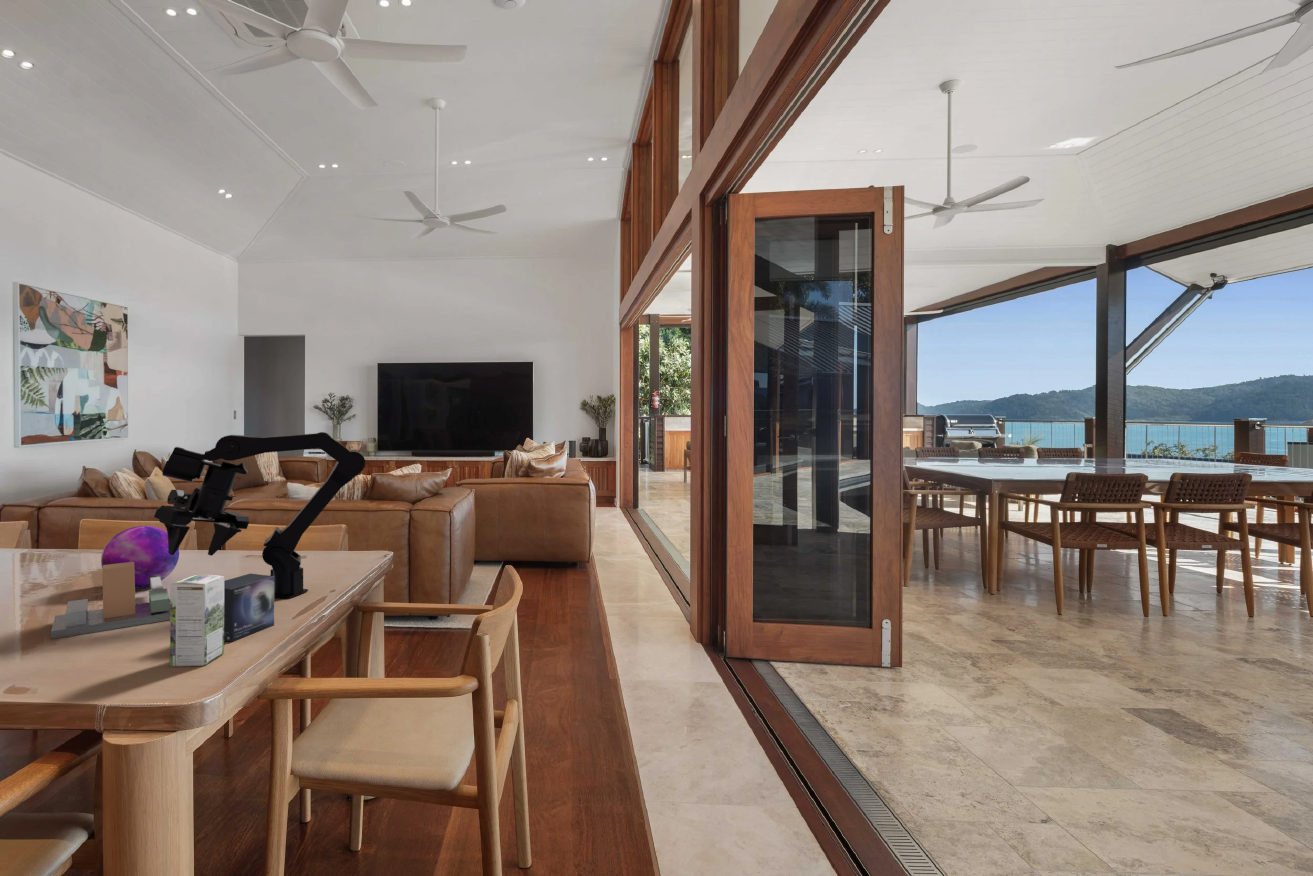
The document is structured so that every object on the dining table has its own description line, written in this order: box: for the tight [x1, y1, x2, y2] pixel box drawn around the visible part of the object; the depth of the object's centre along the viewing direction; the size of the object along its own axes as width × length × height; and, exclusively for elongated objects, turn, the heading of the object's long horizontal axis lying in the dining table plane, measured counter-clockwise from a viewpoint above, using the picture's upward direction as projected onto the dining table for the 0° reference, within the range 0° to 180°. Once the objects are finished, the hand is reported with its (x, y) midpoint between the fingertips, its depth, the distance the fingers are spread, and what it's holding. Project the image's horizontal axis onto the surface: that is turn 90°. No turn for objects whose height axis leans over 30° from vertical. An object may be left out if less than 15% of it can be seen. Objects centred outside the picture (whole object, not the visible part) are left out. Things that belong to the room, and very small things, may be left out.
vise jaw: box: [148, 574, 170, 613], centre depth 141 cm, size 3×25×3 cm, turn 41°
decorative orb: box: [100, 525, 180, 589], centre depth 157 cm, size 15×15×15 cm
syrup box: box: [169, 574, 225, 667], centre depth 110 cm, size 6×6×14 cm
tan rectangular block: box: [101, 562, 136, 619], centre depth 131 cm, size 5×5×10 cm
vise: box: [50, 598, 170, 640], centre depth 132 cm, size 22×12×4 cm, turn 131°
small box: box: [224, 572, 275, 643], centre depth 125 cm, size 11×6×10 cm, turn 168°
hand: (191, 554), depth 142 cm, fingers open, 9 cm apart
